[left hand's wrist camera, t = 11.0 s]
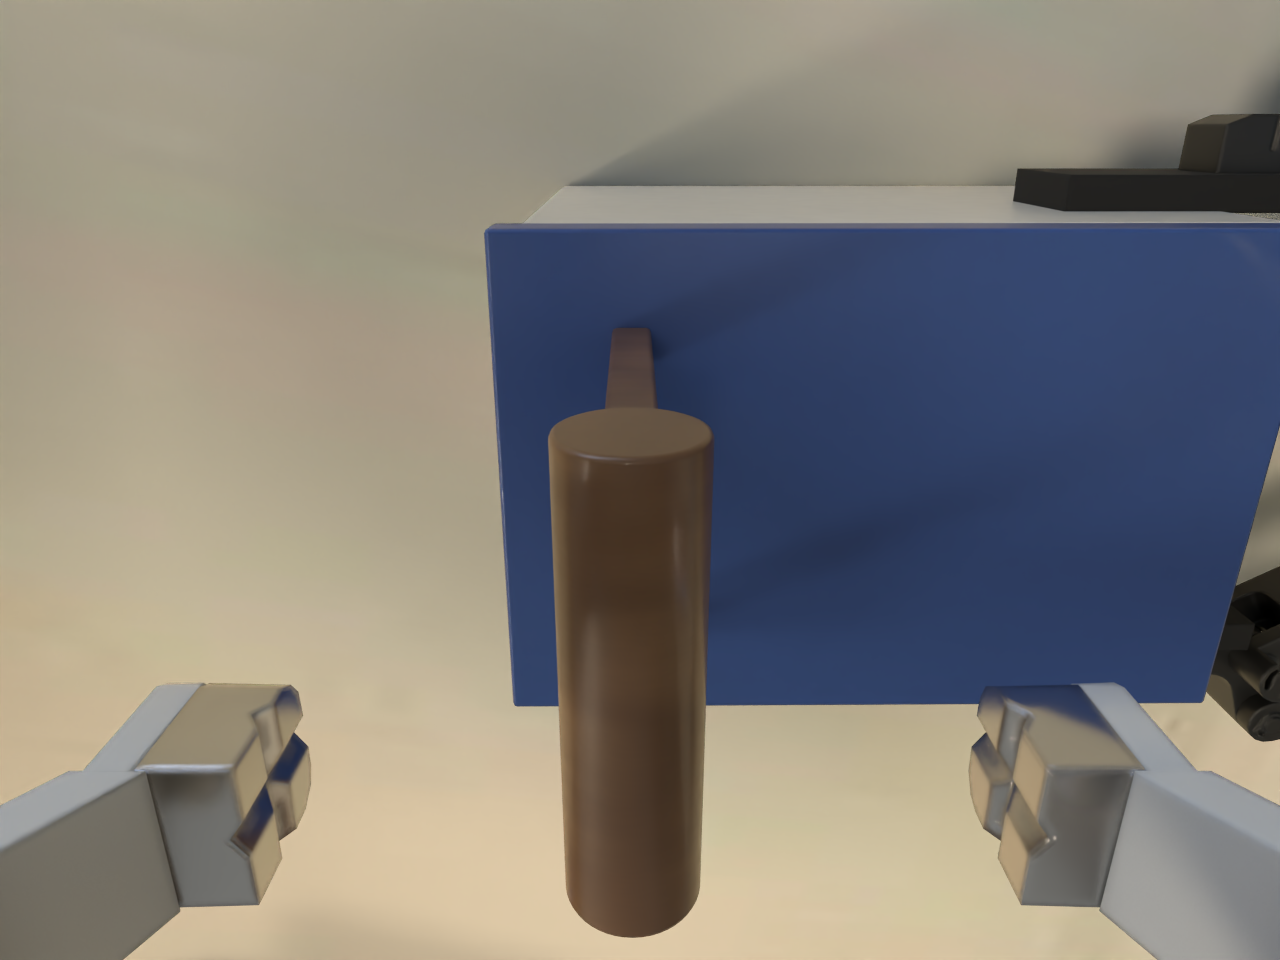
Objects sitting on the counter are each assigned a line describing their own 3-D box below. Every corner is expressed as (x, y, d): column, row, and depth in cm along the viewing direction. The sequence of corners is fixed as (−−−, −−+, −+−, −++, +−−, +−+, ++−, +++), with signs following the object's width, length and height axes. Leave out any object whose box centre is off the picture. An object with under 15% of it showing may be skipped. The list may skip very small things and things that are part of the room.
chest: (571, 497, 30) (542, 679, 20) (562, 185, 26) (520, 222, 16) (998, 495, 30) (1176, 676, 20) (1047, 185, 26) (1295, 221, 17)
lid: (518, 681, 20) (448, 1025, 12) (491, 223, 16) (368, 310, 9) (1178, 677, 20) (1512, 1016, 13) (1296, 222, 17) (1871, 307, 9)
